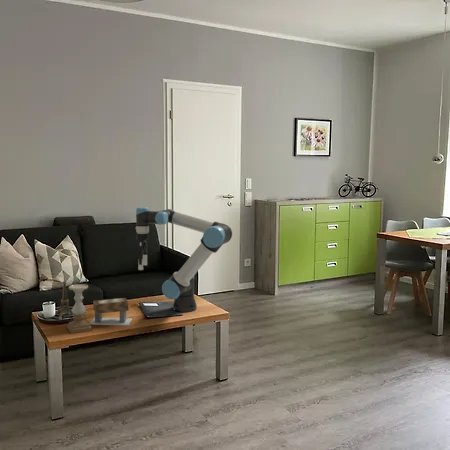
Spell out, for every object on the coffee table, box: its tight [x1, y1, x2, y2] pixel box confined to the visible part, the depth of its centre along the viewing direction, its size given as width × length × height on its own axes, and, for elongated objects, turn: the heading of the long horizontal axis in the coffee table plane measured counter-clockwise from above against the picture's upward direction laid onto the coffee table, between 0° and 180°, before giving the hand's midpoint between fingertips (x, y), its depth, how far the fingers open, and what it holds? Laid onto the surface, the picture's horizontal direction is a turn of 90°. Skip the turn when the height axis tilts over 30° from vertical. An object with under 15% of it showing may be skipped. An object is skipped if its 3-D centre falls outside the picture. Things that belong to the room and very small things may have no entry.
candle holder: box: [66, 283, 93, 335], centre depth 274 cm, size 11×11×24 cm
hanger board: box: [88, 311, 133, 327], centre depth 288 cm, size 22×11×7 cm, turn 89°
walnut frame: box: [92, 297, 129, 314], centre depth 287 cm, size 18×9×5 cm, turn 113°
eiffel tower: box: [55, 276, 73, 317], centre depth 296 cm, size 11×11×25 cm
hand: (142, 267), depth 308 cm, fingers open, 13 cm apart
